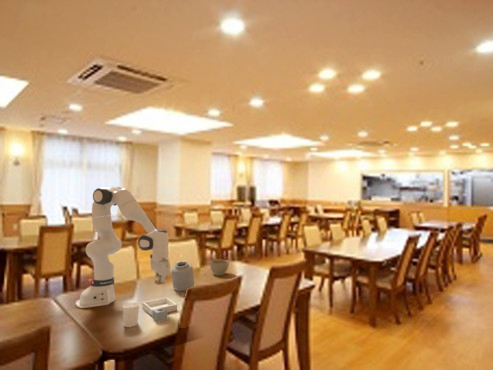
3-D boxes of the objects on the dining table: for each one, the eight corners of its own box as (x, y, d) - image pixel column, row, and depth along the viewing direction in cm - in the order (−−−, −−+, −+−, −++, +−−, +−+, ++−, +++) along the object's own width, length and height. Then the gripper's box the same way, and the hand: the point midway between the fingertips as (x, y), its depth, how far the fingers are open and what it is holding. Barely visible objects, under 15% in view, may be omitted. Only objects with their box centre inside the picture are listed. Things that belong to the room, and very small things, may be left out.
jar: (183, 295, 214) (184, 257, 214) (165, 292, 219) (165, 255, 220) (197, 287, 231) (198, 252, 232) (180, 284, 237) (181, 250, 237)
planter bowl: (232, 273, 270) (232, 260, 271) (221, 277, 257) (221, 264, 257) (217, 270, 279) (217, 258, 279) (205, 274, 265) (205, 261, 265)
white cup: (133, 320, 171) (133, 301, 171) (141, 324, 166) (141, 305, 166) (119, 325, 165) (119, 305, 165) (127, 329, 160) (128, 309, 160)
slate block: (156, 322, 169) (156, 312, 169) (152, 318, 174) (152, 309, 174) (167, 319, 173) (167, 310, 173) (163, 316, 177) (163, 307, 178)
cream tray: (152, 316, 177) (152, 310, 177) (142, 308, 189) (142, 302, 189) (177, 310, 186) (177, 304, 186) (166, 303, 198) (166, 297, 198)
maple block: (157, 284, 184) (157, 277, 184) (154, 283, 188) (154, 275, 188) (165, 283, 187) (165, 275, 187) (162, 281, 191) (162, 274, 191)
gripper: (173, 259, 182) (172, 283, 181) (158, 253, 198) (158, 275, 197) (162, 260, 178) (162, 285, 177) (148, 254, 194) (148, 277, 194)
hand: (160, 280), depth 188 cm, fingers closed on maple block, 4 cm apart
